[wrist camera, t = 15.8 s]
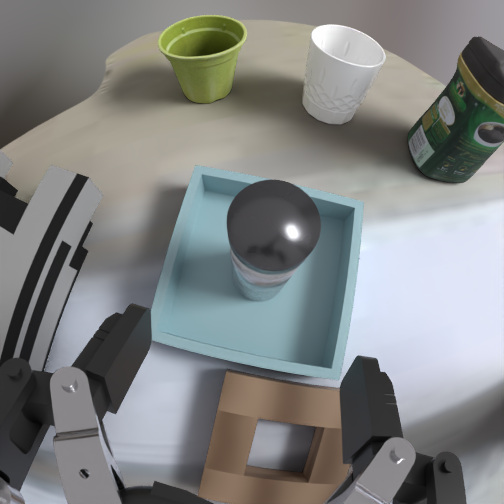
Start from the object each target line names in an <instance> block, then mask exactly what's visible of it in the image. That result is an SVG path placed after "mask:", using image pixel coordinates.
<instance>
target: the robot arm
mask: <svg viewBox="0 0 504 504" xmlns="http://www.w3.org/2000/svg"><path fill="white" fill-rule="evenodd" d="M151 341H152V329H151V311H150V309H148V308H145V307H142V306H138V305H135V304H130V305H129V306H128V308H127V309H126V311H125V312H124V313H123V314H120V313H117V312H116V313H115V314H113V315H112V316H110V317H108V318H107V319H105V321H104V322H103V323H102V325H101V326H100V327H99V330H97V331H96V333H95V334H94V336H93V338H91V340H90V341H89V342H88V344H87V345H86V347H85V348H84V349H83V351H82V352H81V354H80V355H79V356H78V358H77V359H76V361H75V362H74V363H73V365H72V366H71V367H63V368H61V369H59V370H57V371H56V372H55V373H48V372H42V371H36V370H32V369H31V367H30V365H29V363H28V362H27V361H26V360H24V359H22V358H12V359H9V360H7V361H6V362H4V363H3V365H2V366H1V367H0V504H25V502H24V499H23V497H22V495H21V493H20V489H21V487H22V485H23V482H24V480H25V478H26V475H27V473H28V471H29V468H30V466H31V464H32V462H33V460H34V457H35V455H36V453H37V451H38V449H39V447H40V445H41V443H42V441H43V439H44V437H45V435H46V432H47V430H48V428H49V427H50V425H52V426H55V428H56V436H54V438H53V444H54V450H55V455H56V460H57V464H58V469H59V473H60V477H61V481H62V485H63V489H64V492H65V496H66V499H67V502H68V504H213V503H211V502H209V501H207V500H205V499H203V498H201V497H198V496H196V495H194V494H192V493H190V492H188V491H187V490H183V489H179V488H176V487H172V486H169V485H166V484H163V483H160V482H156V481H155V482H154V484H153V486H134V487H128V488H126V485H125V482H124V480H123V477H122V475H121V472H120V470H119V468H118V465H117V463H116V460H115V457H114V454H113V451H112V448H111V445H110V442H109V438H108V435H107V432H106V428H105V424H104V421H103V418H104V416H105V414H106V412H107V411H109V412H111V413H114V414H116V413H117V411H118V409H119V407H120V405H121V403H122V401H123V399H124V397H125V395H126V393H127V391H128V389H129V387H130V385H131V383H132V381H133V380H134V378H135V376H136V374H137V372H138V370H139V368H140V366H141V364H142V362H143V360H144V359H145V357H146V355H147V353H148V351H149V349H150V345H151ZM339 395H340V410H341V429H342V455H343V464H353V471H351V472H350V474H349V475H348V476H347V477H346V478H345V480H344V481H343V482H342V483H341V484H340V485H339V487H338V488H337V489H336V490H335V491H334V492H333V494H332V495H331V496H330V497H329V498H328V499H327V500H326V501H325V502H324V503H323V504H390V502H391V501H392V499H393V504H466V495H465V487H464V480H463V473H462V467H461V463H460V461H459V459H458V458H457V456H455V455H454V454H453V453H450V452H442V453H440V454H438V455H437V456H436V457H435V458H433V457H430V456H426V455H423V454H419V453H416V452H415V450H414V448H413V446H412V445H411V443H410V442H408V441H407V440H405V439H404V438H403V435H402V429H401V424H400V418H399V413H398V408H397V405H396V398H395V396H394V389H393V385H392V382H391V380H390V379H389V377H388V376H387V374H386V373H385V372H380V369H379V364H378V360H377V359H376V358H372V357H364V356H357V357H356V358H355V360H354V362H353V363H352V365H351V367H350V368H349V370H348V372H347V373H346V375H345V377H344V378H343V380H342V382H341V386H340V393H339Z"/></svg>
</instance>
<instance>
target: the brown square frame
mask: <svg viewBox="0 0 504 504" xmlns="http://www.w3.org/2000/svg"><path fill="white" fill-rule="evenodd" d="M339 393H340V388H334V387H326V386H319V385H312V384H305V383H299V382H292V381H286V380H281V379H275V378H270V377H264V376H259V375H254V374H249V373H244V372H240V371H235V370H231V369H227V371H226V374H225V378H224V383H223V387H222V392H221V396H220V400H219V405H218V409H217V414H216V418H215V422H214V427H213V431H212V436H211V440H210V444H209V449H208V453H207V457H206V462H205V466H204V471H203V475H202V479H201V484H200V488H199V493H198V497H201V498H205V499H210V500H214V501H219V502H224V503H230V504H323V503H324V502H325V501H326V500H327V499H328V498H329V497H330V496H331V495H332V494H333V492H334V491H335V490H336V489H337V488H338V487H339V485H340V484H341V483H342V482H343V481H344V480H345V478H346V476H347V473H348V470H349V467H350V464H343V455H342V429H341V410H340V395H339ZM258 418H260V419H266V420H272V421H278V422H285V423H292V424H299V425H308V426H316V428H315V432H314V436H313V440H312V443H311V447H310V450H309V454H308V457H307V461H306V464H305V467H304V471H303V473H302V472H291V471H282V470H274V469H266V468H259V467H253V466H247V461H248V457H249V453H250V449H251V445H252V441H253V437H254V433H255V429H256V425H257V421H258Z"/></svg>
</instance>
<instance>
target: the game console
mask: <svg viewBox="0 0 504 504" xmlns="http://www.w3.org/2000/svg"><path fill="white" fill-rule="evenodd" d="M12 164H13V162H12V161H11V160H10V159H9V158H8V157H7V156H6V155H5V154H4V153H3V152H2V151H1V150H0V367H1V366H2V365H3V363H4V362H6V361H7V360H9V359H12V358H22V359H24V360H26V361H27V362H28V363H29V365H30V367H31V369H32V370H36V371H42V372H44V368H45V365H46V362H47V358H48V355H49V352H50V348H51V345H52V342H53V339H54V336H55V333H56V330H57V327H58V325H59V322H60V319H61V316H62V313H63V311H64V308H65V305H66V303H67V300H68V298H69V295H70V293H71V290H72V288H73V285H74V283H75V280H76V278H77V276H78V273H79V271H80V269H81V266H82V264H83V262H84V260H85V257H86V255H87V253H88V251H87V250H86V249H84V248H83V247H82V245H83V243H84V241H85V239H86V237H87V235H88V233H89V231H90V229H91V227H92V225H93V223H92V222H91V221H90V219H91V217H92V215H93V213H94V212H95V210H96V208H97V206H98V204H99V202H100V200H101V198H102V197H103V194H102V193H101V192H100V190H99V189H98V188H97V187H96V185H95V184H94V183H93V182H92V181H91V179H90V178H89V177H86V176H83V175H80V174H77V173H74V172H71V171H68V170H65V169H62V168H59V167H56V166H53V165H51V166H50V167H49V169H48V170H47V172H46V174H45V175H44V177H43V179H42V181H41V182H40V184H39V186H38V188H37V189H36V191H35V193H34V195H33V197H32V199H31V200H30V202H29V204H27V203H25V202H23V201H21V200H19V199H17V198H15V195H16V193H17V191H18V190H17V189H15V188H14V187H13V186H12V185H11V184H10V183H8V182H7V181H6V180H5V179H4V178H5V176H6V174H7V172H8V171H9V169H10V167H11V166H12Z"/></svg>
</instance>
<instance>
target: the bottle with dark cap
mask: <svg viewBox="0 0 504 504" xmlns="http://www.w3.org/2000/svg"><path fill="white" fill-rule="evenodd" d="M320 232H321V219H320V214H319V212H318V209H317V207H316V205H315V203H314V202H313V200H312V199H311V198H310V197H309V195H308V194H307V193H305V192H304V191H303V190H302V189H300V188H299V187H297V186H295V185H293V184H291V183H288V182H285V181H280V180H263V181H258V182H255V183H253V184H251V185H249V186H247V187H245V188H244V189H243V190H241V191H240V192H239V193H238V194H237V195H236V196H235V198H234V199H233V201H232V202H231V204H230V207H229V209H228V213H227V233H228V241H229V244H230V254H231V265H232V275H233V282H234V285H235V287H236V289H237V290H238V292H239V293H240V294H241V295H242V296H243V297H245V298H247V299H249V300H252V301H257V302H262V301H267V300H270V299H272V298H274V297H275V296H276V295H277V294H278V293H279V292H280V291H281V290H282V288H283V287H284V286H285V285H286V283H287V282H288V281H289V279H290V278H291V277H292V275H293V274H294V273H295V271H296V270H297V269H298V267H299V266H300V265H301V264H302V263H303V262H304V261H305V260H306V258H307V257H308V256H309V255H310V253H311V252H312V251H313V249H314V248H315V246H316V244H317V242H318V240H319V237H320Z"/></svg>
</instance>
